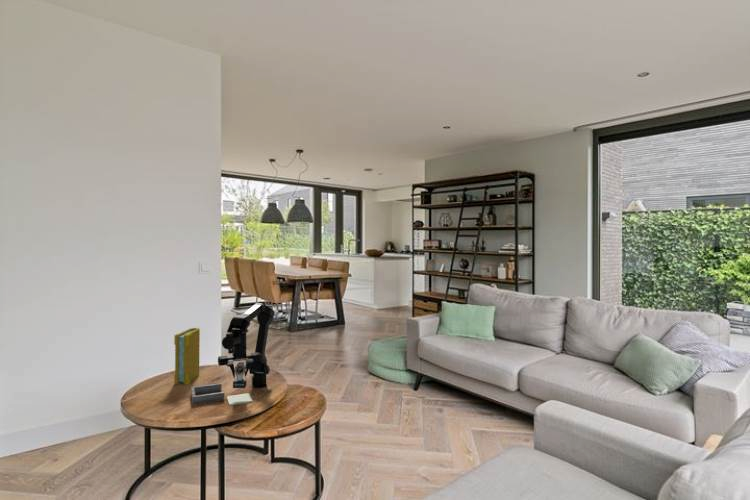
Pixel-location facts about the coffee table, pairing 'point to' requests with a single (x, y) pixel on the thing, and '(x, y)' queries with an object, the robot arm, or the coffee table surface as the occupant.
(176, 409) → the coffee table surface
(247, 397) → the pad
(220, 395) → the grey u-shaped piece
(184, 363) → the book
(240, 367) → the watch
